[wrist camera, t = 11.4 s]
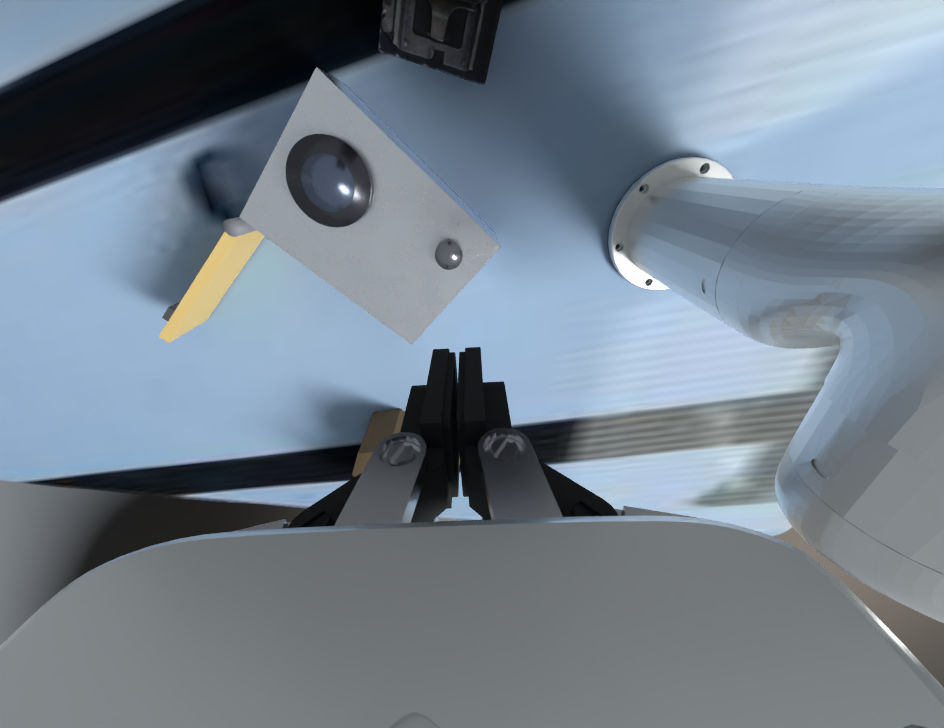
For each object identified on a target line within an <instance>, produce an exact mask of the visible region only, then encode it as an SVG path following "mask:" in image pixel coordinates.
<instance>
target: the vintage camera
mask: <svg viewBox="0 0 944 728" xmlns="http://www.w3.org/2000/svg"><path fill="white" fill-rule="evenodd" d="M502 2H503V0H383V3H382V14H381V25H380V37H379V48H378V50H379V51H380V52H382V53H385V54H389V55H392V56H395V57H398V58H401V59H404V60H408V61H411V62H414V63H417V64H420V65H423V66H426V67H429V68H432V69H435V70H438V71H441V72H444V73H447V74H450V75H453V76H457V77H460V78H463V79H466V80H469V81H472V82H475V83H478V84H481V85H485V81H486V77H487V72H488V68H489V63H490V58H491V54H492V49H493V44H494V39H495V35H496V30H497V25H498V21H499V16H500V11H501V7H502Z"/></svg>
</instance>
